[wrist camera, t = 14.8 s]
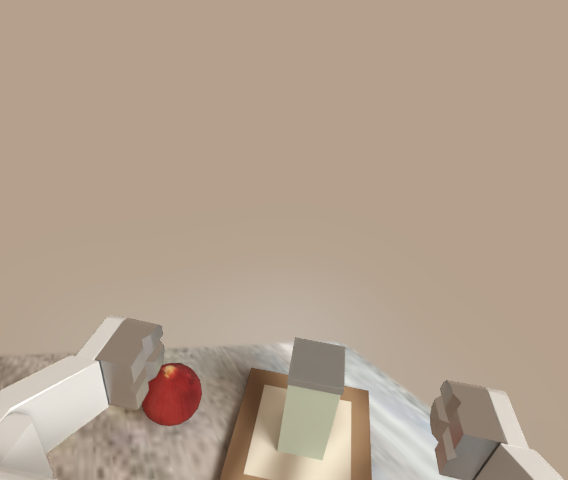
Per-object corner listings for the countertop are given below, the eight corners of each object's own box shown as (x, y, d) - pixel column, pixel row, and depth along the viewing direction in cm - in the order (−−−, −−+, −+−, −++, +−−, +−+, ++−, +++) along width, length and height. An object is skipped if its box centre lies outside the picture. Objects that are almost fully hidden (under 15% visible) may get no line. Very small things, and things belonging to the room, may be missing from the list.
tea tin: (276, 451, 38) (287, 378, 32) (283, 409, 42) (295, 337, 36) (323, 461, 37) (344, 389, 32) (326, 418, 41) (345, 346, 36)
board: (215, 497, 35) (216, 491, 34) (251, 373, 47) (251, 367, 46) (370, 532, 34) (373, 527, 33) (366, 396, 46) (368, 390, 45)
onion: (169, 384, 44) (165, 334, 40) (212, 406, 42) (212, 356, 38) (133, 426, 40) (124, 375, 35) (179, 452, 38) (175, 401, 34)
